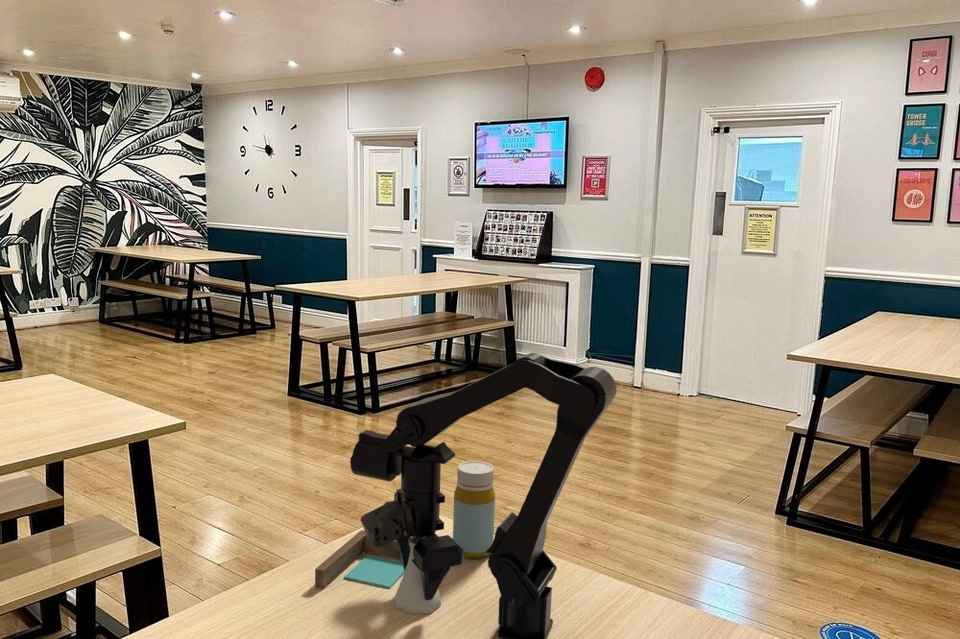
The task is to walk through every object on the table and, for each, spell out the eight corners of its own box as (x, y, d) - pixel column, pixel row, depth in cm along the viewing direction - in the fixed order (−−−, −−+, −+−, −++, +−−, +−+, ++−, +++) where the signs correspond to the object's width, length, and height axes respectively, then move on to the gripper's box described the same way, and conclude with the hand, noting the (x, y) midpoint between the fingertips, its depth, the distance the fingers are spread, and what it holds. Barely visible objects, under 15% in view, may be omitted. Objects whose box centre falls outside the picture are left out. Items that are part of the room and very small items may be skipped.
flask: (434, 619, 106) (436, 553, 104) (386, 611, 107) (387, 547, 106) (447, 593, 113) (448, 532, 111) (401, 587, 114) (403, 526, 113)
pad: (411, 565, 121) (411, 563, 121) (390, 588, 113) (390, 586, 113) (367, 556, 123) (367, 554, 123) (344, 578, 116) (344, 576, 116)
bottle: (446, 545, 129) (448, 462, 126) (482, 538, 132) (485, 458, 129) (462, 563, 122) (465, 476, 120) (499, 555, 125) (503, 471, 123)
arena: (420, 558, 123) (421, 541, 123) (381, 602, 109) (381, 583, 109) (360, 546, 127) (361, 530, 126) (315, 587, 113) (315, 568, 113)
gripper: (348, 471, 112) (347, 567, 114) (388, 519, 95) (387, 631, 98) (417, 462, 117) (415, 555, 119) (466, 507, 100) (463, 613, 102)
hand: (418, 586), depth 109 cm, fingers open, 8 cm apart
